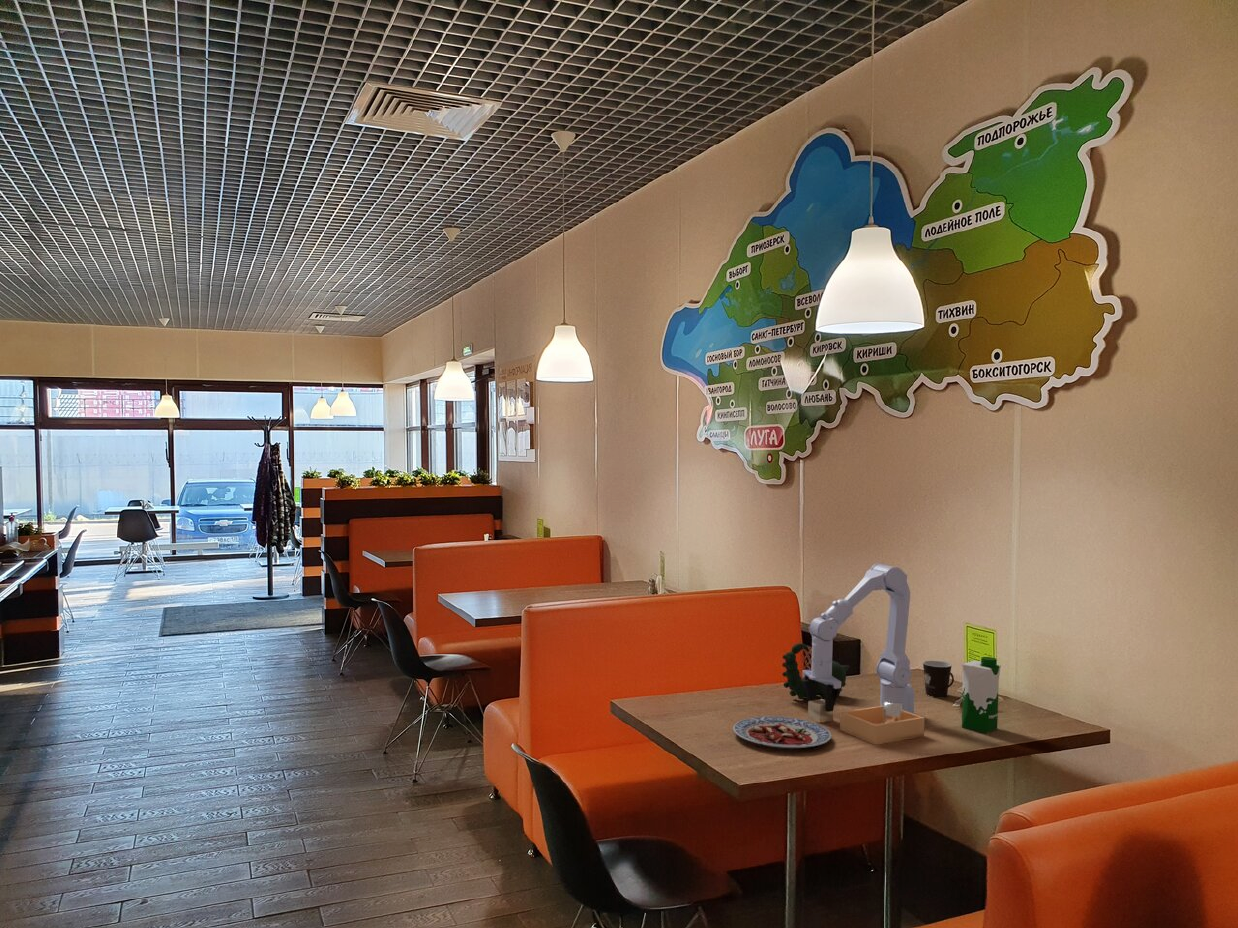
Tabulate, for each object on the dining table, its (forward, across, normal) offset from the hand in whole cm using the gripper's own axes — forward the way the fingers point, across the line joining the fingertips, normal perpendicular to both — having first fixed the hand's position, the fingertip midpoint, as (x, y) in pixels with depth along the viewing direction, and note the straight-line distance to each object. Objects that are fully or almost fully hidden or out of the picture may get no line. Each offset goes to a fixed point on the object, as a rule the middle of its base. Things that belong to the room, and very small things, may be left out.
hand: (820, 707), depth 260 cm
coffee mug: (+3, -4, +51) cm, 51 cm away
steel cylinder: (+2, +17, +11) cm, 20 cm away
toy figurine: (+4, -18, +14) cm, 23 cm away
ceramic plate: (+4, +9, -21) cm, 23 cm away
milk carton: (+3, +25, +36) cm, 44 cm away
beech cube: (+3, 0, 0) cm, 4 cm away
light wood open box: (+3, +17, +7) cm, 19 cm away
